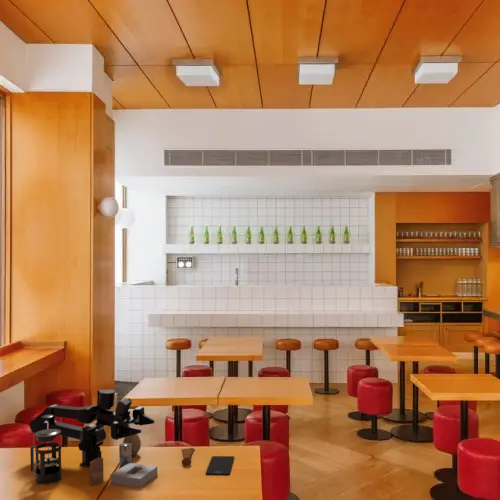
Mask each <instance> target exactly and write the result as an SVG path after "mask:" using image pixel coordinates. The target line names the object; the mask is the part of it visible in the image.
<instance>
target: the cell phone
mask: <svg viewBox="0 0 500 500" xmlns="http://www.w3.org/2000/svg"><path fill="white" fill-rule="evenodd" d="M233 460H235V456H232V455H228V456H226V455H223V456H222V455H216V456H215V455H214V456H213V455H212V456H211V458H210V461H209V462H208V466H207V468H206V470H205V476H206V475H207V476H230V475H231V472H230V471H232V469H233V468H232V467H233V465H232V464H234V461H233Z"/></svg>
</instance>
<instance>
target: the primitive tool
mask: <svg viewBox="0 0 500 500" xmlns="http://www.w3.org/2000/svg"><path fill="white" fill-rule="evenodd" d="M180 450H181V454H182V457H183V459H182V460H181V464H182V466H183V467H189V466H190V465H191V464H192V460H191V458H192V456H193V453H194V452H195V451H196V450H195V448H194V447H189V448H182V449H180Z"/></svg>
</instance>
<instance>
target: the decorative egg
mask: <svg viewBox="0 0 500 500" xmlns="http://www.w3.org/2000/svg"><path fill="white" fill-rule="evenodd" d="M122 443H130V444H131V455H132V456H134V455H136V454H138V453H139V452H140V450H141V446H142V440H141V437H140V436H139V433H138V434H135V435H131V436H127V437H124V438H123V441H122Z"/></svg>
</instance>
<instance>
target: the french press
mask: <svg viewBox="0 0 500 500" xmlns="http://www.w3.org/2000/svg"><path fill="white" fill-rule="evenodd" d="M52 417H54V416H53V415H45V416H42V418H43V419H46V421H47V429H46V430H41V431H38V432H36V433H34V436H35V440H36V441H37V442H38V443H40V444H37V445H32V446H31V447H30V450H29V451H30V472H31V473H32V472H33V473H35V475H34V476H35V478H34V482H35V483H36V484H37V485H42V484H45V485H51V484H50V483H52V484H56V483H58V482H60V481H61V480H62V479H63V475H62V474H63V472H62V471H63V470H62V443H60V442H56V441H54V440H55V439H56V437H59V436H61V435H60V433H61V430H58V429H48V421H49V418H52ZM45 447H47V449H43V450H42V449H41V448H45ZM50 447H51V449H50ZM34 453H35V457H34ZM50 454H51V457H50ZM57 454H58V455H57ZM46 455H47V457H46ZM57 456H58V457H57ZM34 458H35V459H34ZM34 460H35V461H34ZM55 482H56V483H55Z"/></svg>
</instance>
